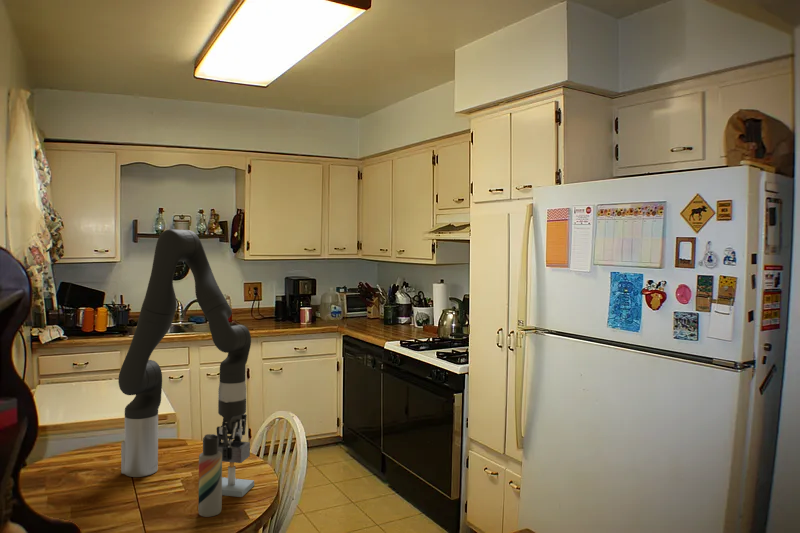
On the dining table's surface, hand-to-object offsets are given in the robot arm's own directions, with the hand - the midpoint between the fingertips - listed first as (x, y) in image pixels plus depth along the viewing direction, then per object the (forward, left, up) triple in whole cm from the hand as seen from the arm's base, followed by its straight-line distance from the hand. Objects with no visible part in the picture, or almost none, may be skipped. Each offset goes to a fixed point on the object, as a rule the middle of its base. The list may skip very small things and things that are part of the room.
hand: (231, 456), depth 166 cm
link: (0, 0, -1) cm, 1 cm away
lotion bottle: (+1, -14, -10) cm, 17 cm away
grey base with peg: (0, 0, -9) cm, 9 cm away
